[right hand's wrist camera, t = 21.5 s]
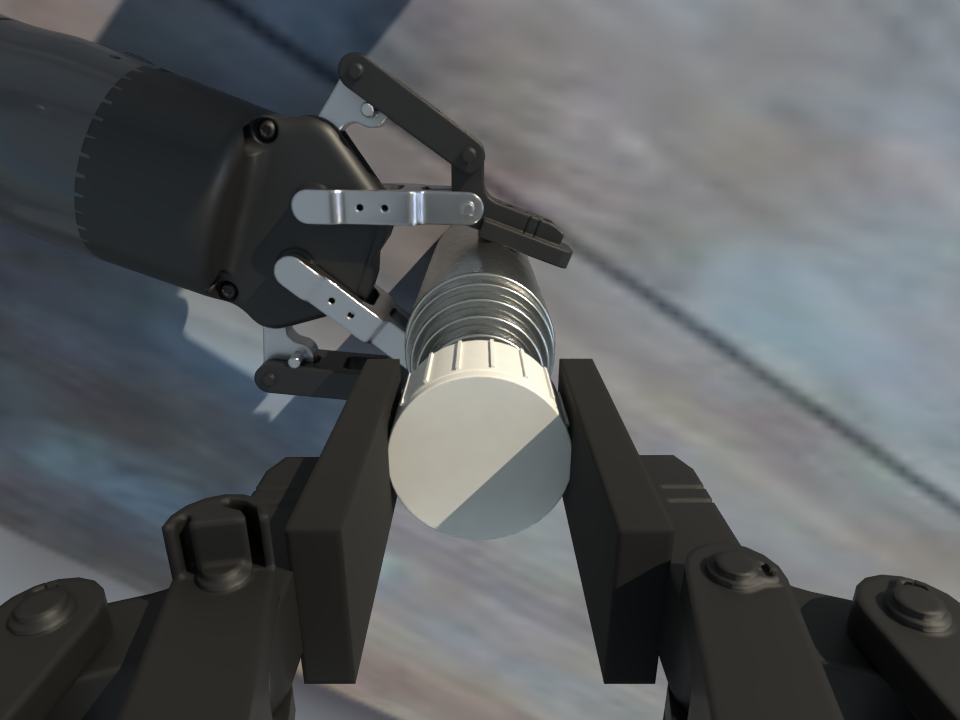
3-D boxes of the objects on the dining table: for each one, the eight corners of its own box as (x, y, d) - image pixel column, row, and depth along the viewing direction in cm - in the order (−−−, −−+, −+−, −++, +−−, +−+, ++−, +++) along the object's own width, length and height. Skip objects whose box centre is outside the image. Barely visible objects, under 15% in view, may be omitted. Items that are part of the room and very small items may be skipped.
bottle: (435, 309, 32) (379, 536, 14) (430, 216, 30) (361, 342, 13) (526, 307, 32) (584, 533, 14) (526, 215, 30) (593, 338, 12)
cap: (383, 468, 15) (368, 522, 13) (414, 319, 14) (402, 353, 12) (537, 499, 15) (546, 557, 13) (581, 356, 14) (599, 396, 12)
